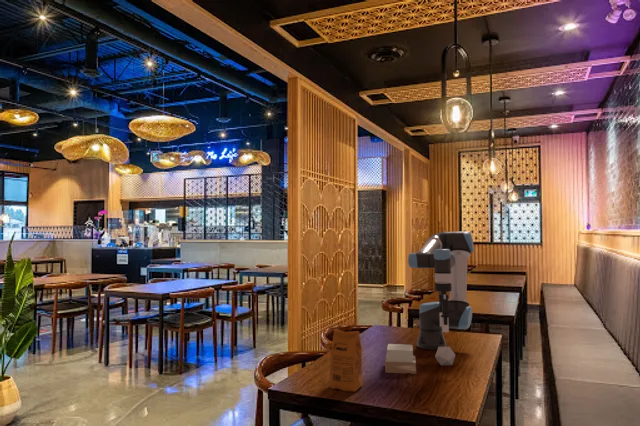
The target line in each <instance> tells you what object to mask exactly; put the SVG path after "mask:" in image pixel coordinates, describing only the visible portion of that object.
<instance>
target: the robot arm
mask: <svg viewBox="0 0 640 426" xmlns="http://www.w3.org/2000/svg"><path fill="white" fill-rule="evenodd" d="M474 248H475V247H474V241H473V236H472V233H471V232H470V231H463V230H462V231H440V232H438V233H434V234H432V235H431V236H430V237H428V238H427V239H426V240H425V243H424V245H423V246H422V247H421V248H420V249H419V250H418V251H417V252H410V253H409V254H408V257H407V263H408V266H409V268H412V269H434V272H433V273H434V274H433V275H432V277H433V278H434V282H435V283H434V291H435V292H438V301H431V302H424V303H421V304H420V305H419V312H418V314H419V334H418V336H417V340H416V346H417V347H418V348H420V349H423V350H430V351H431V350H433V351H435V350H436V351H437V350H438V347H447V342H446V339H445V337H444V333H449V332H450V329H458V330H467V329H469V328H470V326H471V324H472V319H473V307H472V306H470V303H469V301H467V294H468V293H467V292H468V291H467V289H468V288H467V287H468V259H469V258H470V257H471V254H472V253H474V252H475V249H474ZM448 292H449V295H448V294H447V293H448Z"/></svg>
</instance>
